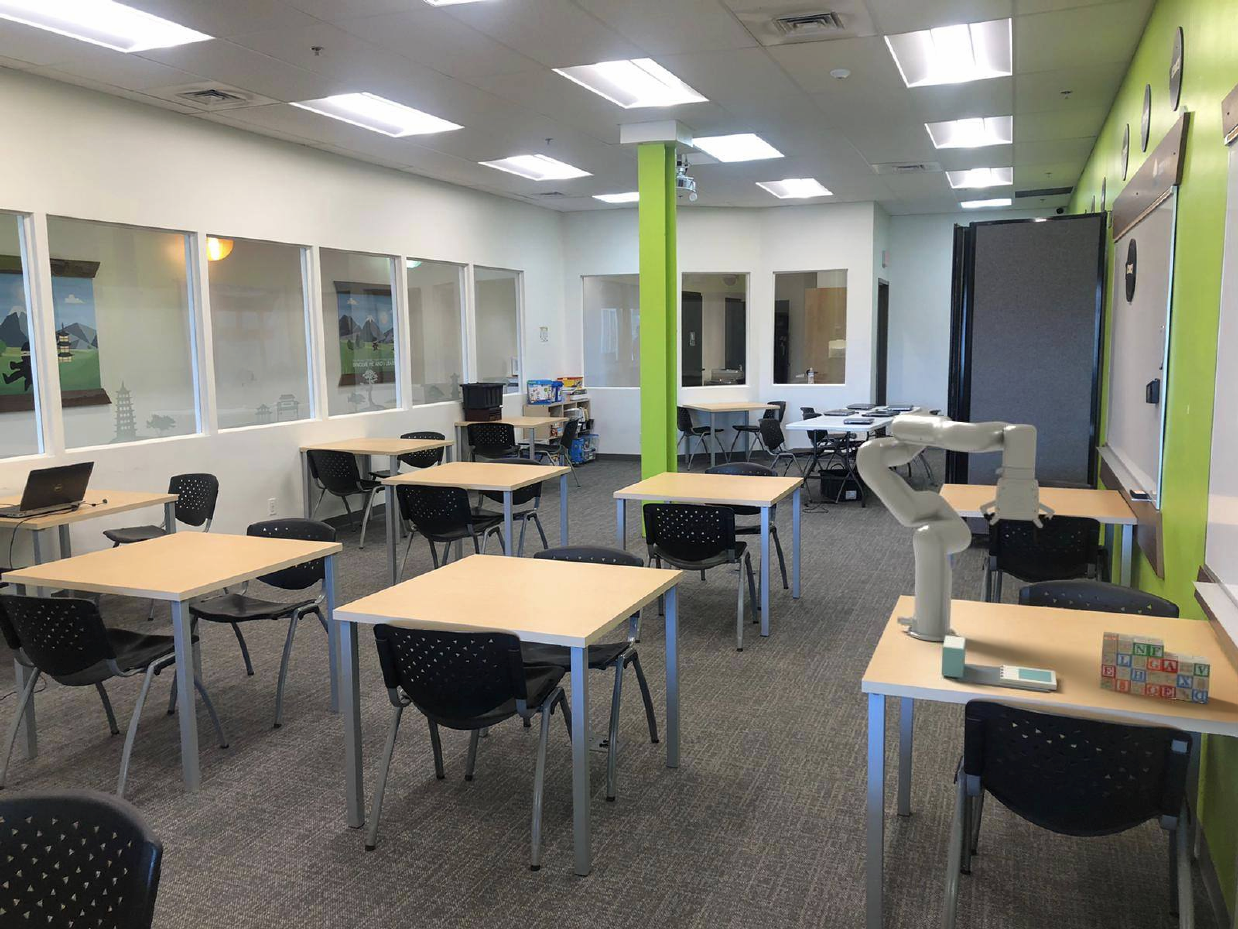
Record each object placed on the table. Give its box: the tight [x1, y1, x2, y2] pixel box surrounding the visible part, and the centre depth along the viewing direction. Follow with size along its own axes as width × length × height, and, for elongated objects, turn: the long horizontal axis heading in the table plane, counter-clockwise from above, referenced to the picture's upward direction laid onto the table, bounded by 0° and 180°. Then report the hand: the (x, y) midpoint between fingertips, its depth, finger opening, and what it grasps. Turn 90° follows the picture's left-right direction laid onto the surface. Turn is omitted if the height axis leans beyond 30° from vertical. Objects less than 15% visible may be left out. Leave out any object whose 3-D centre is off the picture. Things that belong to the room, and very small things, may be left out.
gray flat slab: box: [956, 662, 1057, 694], centre depth 223 cm, size 22×13×2 cm, turn 67°
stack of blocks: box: [1100, 631, 1211, 704], centre depth 213 cm, size 21×6×12 cm, turn 61°
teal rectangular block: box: [941, 635, 967, 678], centre depth 227 cm, size 5×10×7 cm, turn 157°
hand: (1015, 541), depth 234 cm, fingers open, 9 cm apart
